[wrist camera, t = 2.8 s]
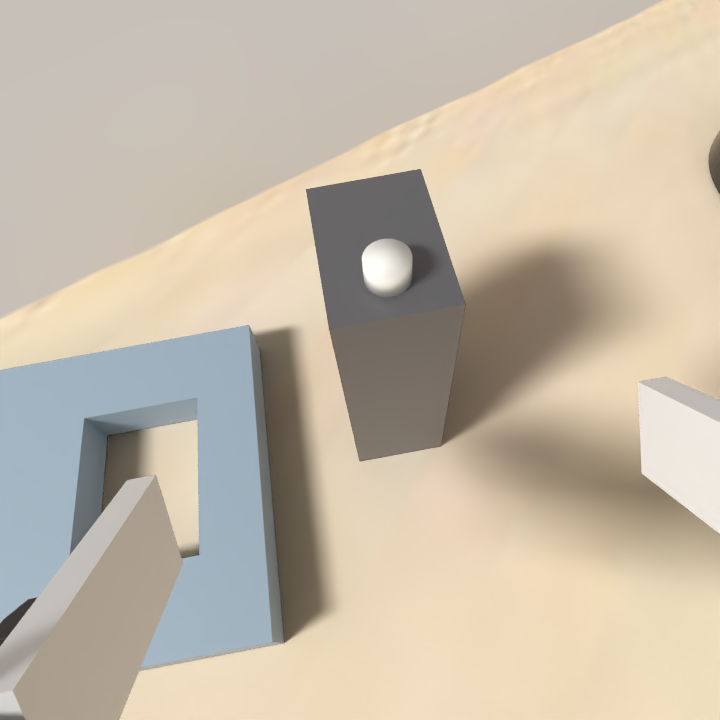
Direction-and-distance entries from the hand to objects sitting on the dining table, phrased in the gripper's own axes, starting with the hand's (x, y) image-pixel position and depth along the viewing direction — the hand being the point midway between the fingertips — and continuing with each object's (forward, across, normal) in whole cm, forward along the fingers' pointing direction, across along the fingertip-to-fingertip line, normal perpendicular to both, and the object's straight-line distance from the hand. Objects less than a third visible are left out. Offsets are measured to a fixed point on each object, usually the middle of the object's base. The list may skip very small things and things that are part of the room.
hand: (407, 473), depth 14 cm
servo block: (+15, +1, -3) cm, 15 cm away
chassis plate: (+13, -15, -5) cm, 21 cm away
